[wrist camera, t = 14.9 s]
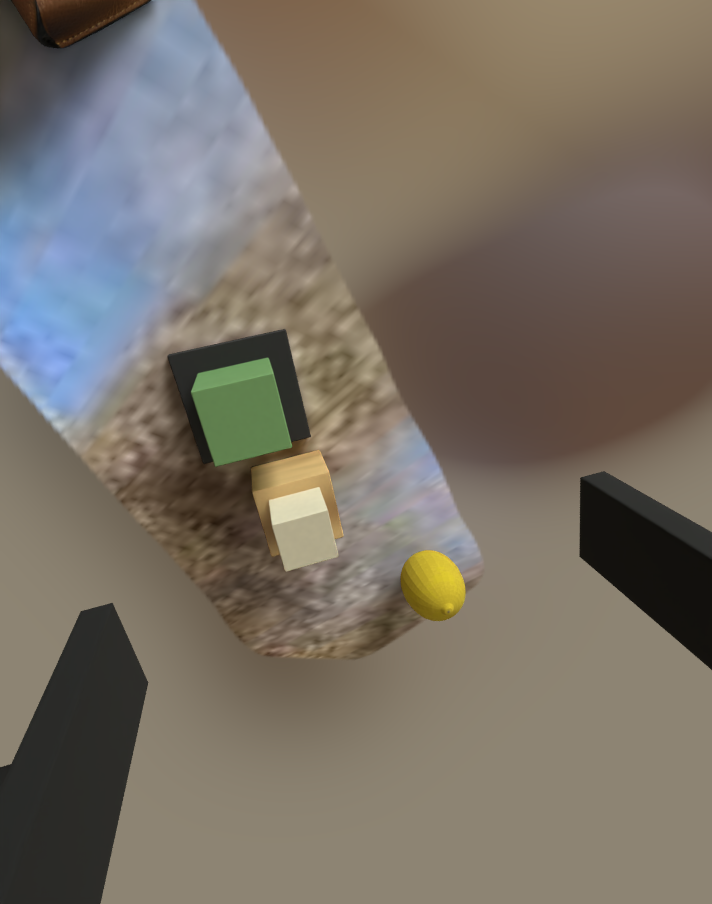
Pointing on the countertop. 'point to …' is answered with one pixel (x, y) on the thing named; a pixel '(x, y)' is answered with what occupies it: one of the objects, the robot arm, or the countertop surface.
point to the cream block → (302, 529)
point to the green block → (240, 411)
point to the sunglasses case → (71, 18)
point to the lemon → (432, 585)
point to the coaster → (237, 353)
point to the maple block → (292, 488)
